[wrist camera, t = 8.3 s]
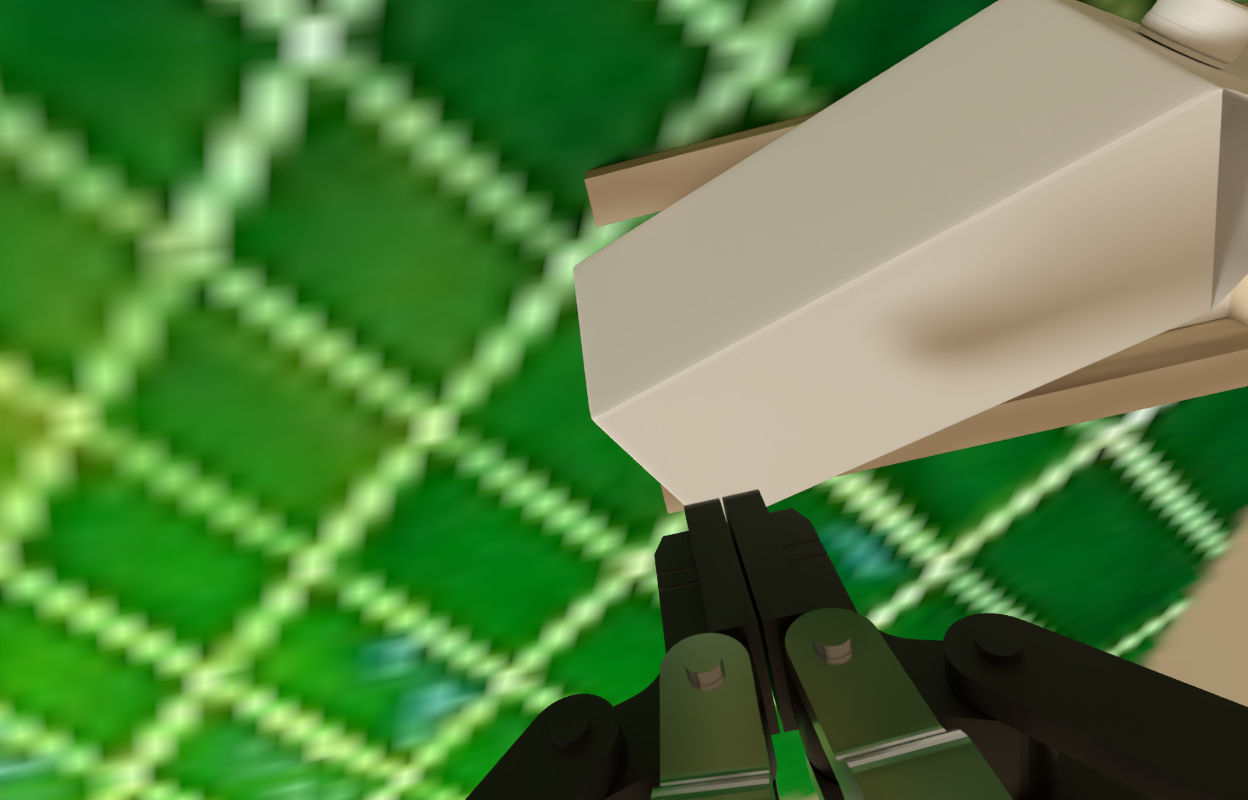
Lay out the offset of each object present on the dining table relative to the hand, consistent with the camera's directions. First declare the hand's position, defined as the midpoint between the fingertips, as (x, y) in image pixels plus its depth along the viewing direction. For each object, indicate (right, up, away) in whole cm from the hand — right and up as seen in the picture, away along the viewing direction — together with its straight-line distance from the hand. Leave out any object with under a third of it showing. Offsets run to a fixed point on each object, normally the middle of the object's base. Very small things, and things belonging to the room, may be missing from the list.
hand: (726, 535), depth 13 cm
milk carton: (-2, +3, +9) cm, 10 cm away
